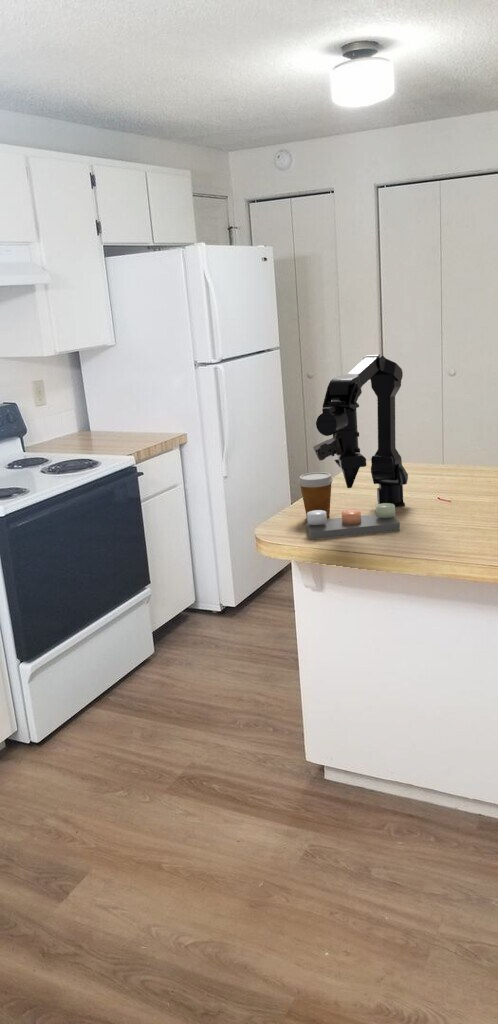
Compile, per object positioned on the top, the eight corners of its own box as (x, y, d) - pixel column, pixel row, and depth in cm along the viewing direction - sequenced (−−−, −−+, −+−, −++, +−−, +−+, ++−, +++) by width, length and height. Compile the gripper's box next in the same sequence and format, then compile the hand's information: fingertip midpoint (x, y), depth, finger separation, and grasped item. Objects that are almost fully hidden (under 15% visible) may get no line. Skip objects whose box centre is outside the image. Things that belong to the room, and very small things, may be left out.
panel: (391, 519, 222) (390, 512, 221) (399, 530, 212) (399, 523, 211) (306, 528, 221) (305, 521, 220) (311, 539, 211) (310, 532, 211)
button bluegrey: (325, 518, 218) (324, 509, 217) (328, 523, 213) (327, 514, 212) (306, 520, 218) (305, 511, 217) (309, 525, 213) (308, 516, 212)
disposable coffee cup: (325, 523, 223) (322, 481, 220) (294, 521, 228) (291, 479, 225) (341, 514, 231) (338, 472, 228) (311, 511, 236) (308, 471, 233)
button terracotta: (359, 518, 218) (358, 509, 218) (362, 523, 213) (362, 514, 213) (340, 520, 218) (340, 511, 217) (343, 525, 213) (343, 516, 213)
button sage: (392, 511, 218) (392, 502, 218) (397, 516, 213) (396, 507, 213) (374, 513, 218) (373, 504, 217) (378, 518, 213) (377, 509, 213)
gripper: (309, 425, 218) (313, 482, 222) (319, 437, 200) (323, 499, 204) (351, 421, 218) (354, 478, 222) (365, 433, 200) (368, 495, 204)
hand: (349, 487), depth 213 cm, fingers closed
